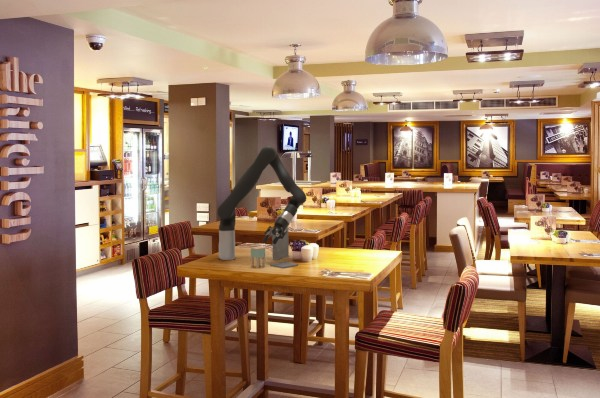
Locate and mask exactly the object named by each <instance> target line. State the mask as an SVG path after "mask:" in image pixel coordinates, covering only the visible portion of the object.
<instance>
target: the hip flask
mask: <svg viewBox="0 0 600 398" xmlns="http://www.w3.org/2000/svg"><path fill="white" fill-rule="evenodd" d="M286 230H287V232H286V234H285V236H284V237H283V239H279V240H278V241H277V243H276V244H273V243H272V244H271V245H272V247H271V248H272V250H271V251H272V261H278V260H280V259H285V258H289V256H290V252H289V251H290V250H289V247H290V246H289V245H290V244H289V226H288V227H287V228H286ZM281 236H282V235H281ZM275 237H276V235H273V236H271V240H272V241H273V240H274V239H275ZM272 241H271V242H272Z"/></svg>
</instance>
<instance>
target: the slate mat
mask: <svg viewBox="0 0 600 398" xmlns="http://www.w3.org/2000/svg"><path fill="white" fill-rule="evenodd" d="M269 265H270V266H271V267H273V268H274V267H275V268H279V269H280V268H281V269H287V268H294V267H298V266H299V264H298V263H295V262H294V263H293V262H288V261H281V262H276V263H270V264H269Z"/></svg>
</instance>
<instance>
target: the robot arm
mask: <svg viewBox="0 0 600 398" xmlns="http://www.w3.org/2000/svg"><path fill="white" fill-rule="evenodd" d="M268 165H270V167H271V168H272V169H273V172H274V173H275V174H276V176H277V179H278V180H279V182H280V185H282V187H283V189H285V191H286V192H287V193H290V194H291V195H292V196H291V197H290V199H289V200H288V202H287V205H286V206H285V207H284V209H283V211H281V213H280V214H279V215H278V217H277V218H276V220H274V226H271V225H269V226H268V227H267V229H266V230H265V231H264V235H265V236H264V237H263V239H262V242H263V243H264V244H265V243H267V241H268V240H269V238H270V237H271V238H272V236H273V235H276V237H275V239H274V240H273V241H271V242H272V243H273V244H276V243H277V241H278V240H279V239H283V237H284V236H285V234H286V232H287V230H286V228H287V227H288V228H289V225H290V224H291V223H292V221H293V219H294V217H295V215H296V214H297V213H298V209H299V208H300V206H301V205H303V204H304V203H306V201H307V195H306V193H305V192H304V191H303V190H302V188H301V187H299V185H298V184H297V183H296V182H295V180H294V179H293V177H292V176H291V174H290V173H289V172H288V170H287V169H286V167H285V166H284V164H283V162H282V160H281V158H280V156H279V154H278V152H277V149H276V148H275V147H273V146H272V145H265V146H264V147H262V148H261V150H260V151H259V153H258V154H257V156H256V158H255V160H254V161H253V163H252V164H251V165H250V166H249V167H248V168H247V169H246V171H245V172H244V173H243V174H242V175H241V177H240V178H239V179H238V180H237V183H236V184H235V186H234V187H233V189H232V190H231V192H230V194H229V195H228V196H227V197H226V199H224V201H223V202H222V203H221V204H220V205H219V206H218V207H217V216H218V217H219V219H220V220H219V225H218V238H219V239H218V241H219V242H218V259H219V260H223V261H230V260H235V259H236V234H235V233H236V231H235V229H236V208H238V207H237V206H238V205H239V204H240V202H241V201H242V200H244V199H245V197H247V196H248V194H249V193H250V192H252V190H253V189H254V187H255V186H256V184H257V183H258V182H259V179H260V178H261V176H262V174H263V171H264V170H265V169H266V168H267V167H268ZM281 235H282V236H281Z"/></svg>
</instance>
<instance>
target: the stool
mask: <svg viewBox="0 0 600 398" xmlns="http://www.w3.org/2000/svg"><path fill="white" fill-rule="evenodd" d="M250 257H251V258H250V259H251V260H250V261H251V262H250V263H251V268H254V267H255V268H256V269H259V268H260V266H261V260H262V268H265V267H266V247H263V246H253V247H250ZM261 258H262V259H261Z"/></svg>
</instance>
